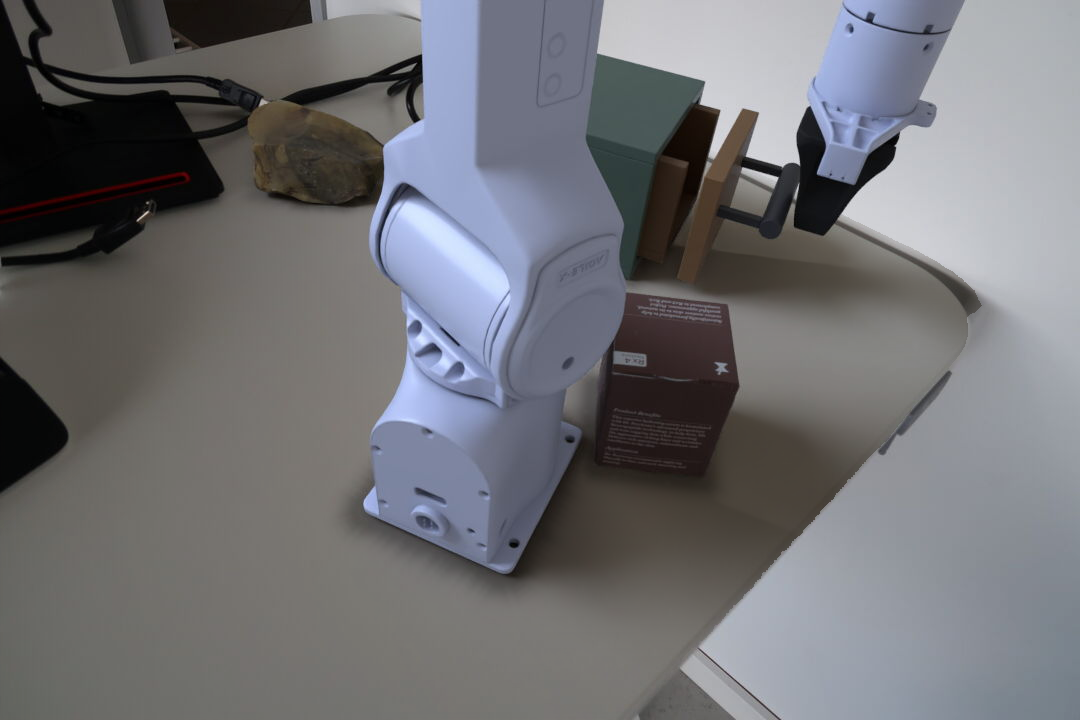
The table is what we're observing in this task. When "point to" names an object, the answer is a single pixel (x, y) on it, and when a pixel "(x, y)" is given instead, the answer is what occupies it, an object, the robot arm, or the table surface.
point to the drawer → (708, 189)
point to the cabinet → (634, 136)
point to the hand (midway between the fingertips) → (809, 226)
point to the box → (665, 386)
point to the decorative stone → (312, 154)
